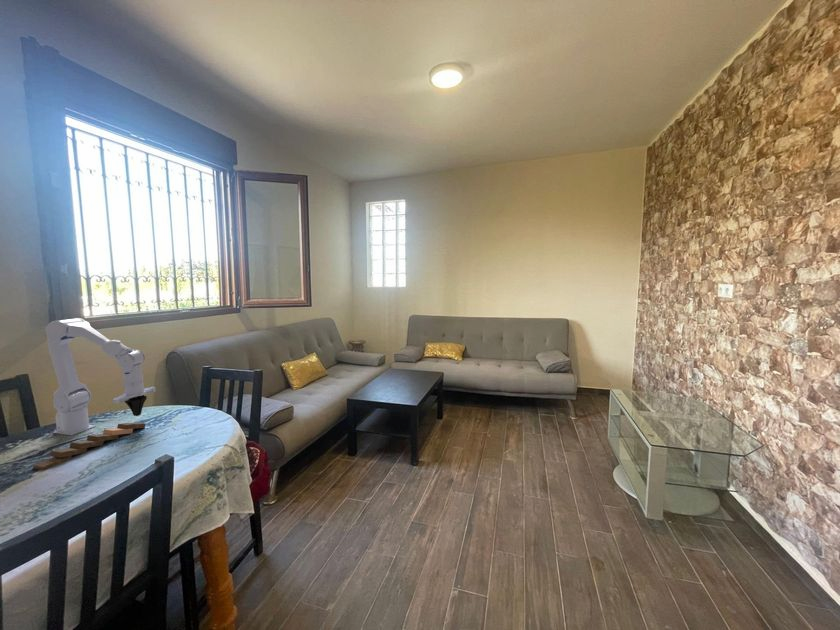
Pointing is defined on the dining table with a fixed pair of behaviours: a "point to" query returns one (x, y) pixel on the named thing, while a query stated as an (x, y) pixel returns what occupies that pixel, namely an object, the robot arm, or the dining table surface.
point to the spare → (117, 431)
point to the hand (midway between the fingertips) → (137, 415)
